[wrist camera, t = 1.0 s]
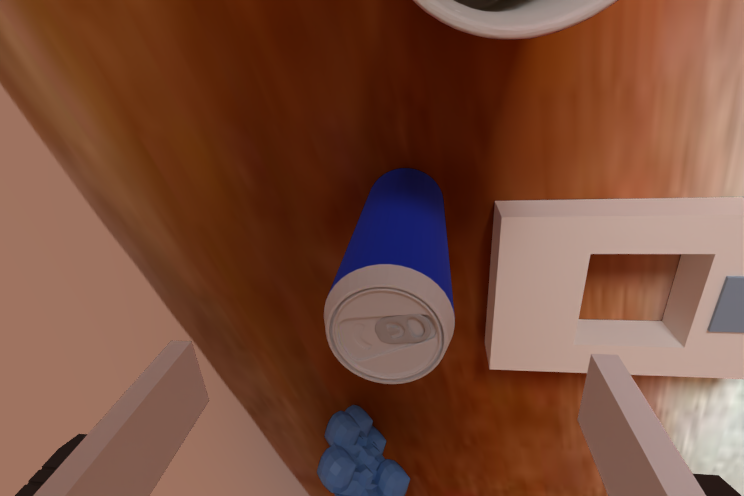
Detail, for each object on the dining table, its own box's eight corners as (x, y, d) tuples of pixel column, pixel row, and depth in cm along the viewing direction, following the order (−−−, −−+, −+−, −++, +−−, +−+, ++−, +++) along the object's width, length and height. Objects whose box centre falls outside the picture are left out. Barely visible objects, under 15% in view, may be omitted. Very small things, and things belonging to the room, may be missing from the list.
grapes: (435, 460, 40) (438, 613, 29) (372, 472, 42) (352, 619, 31) (387, 371, 36) (370, 510, 25) (319, 389, 38) (276, 525, 27)
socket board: (494, 200, 28) (502, 218, 25) (795, 196, 26) (842, 215, 23) (484, 343, 33) (489, 371, 30) (734, 350, 31) (765, 381, 28)
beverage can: (381, 243, 30) (344, 398, 17) (359, 177, 28) (297, 294, 15) (451, 226, 29) (470, 379, 16) (432, 156, 27) (436, 262, 14)
